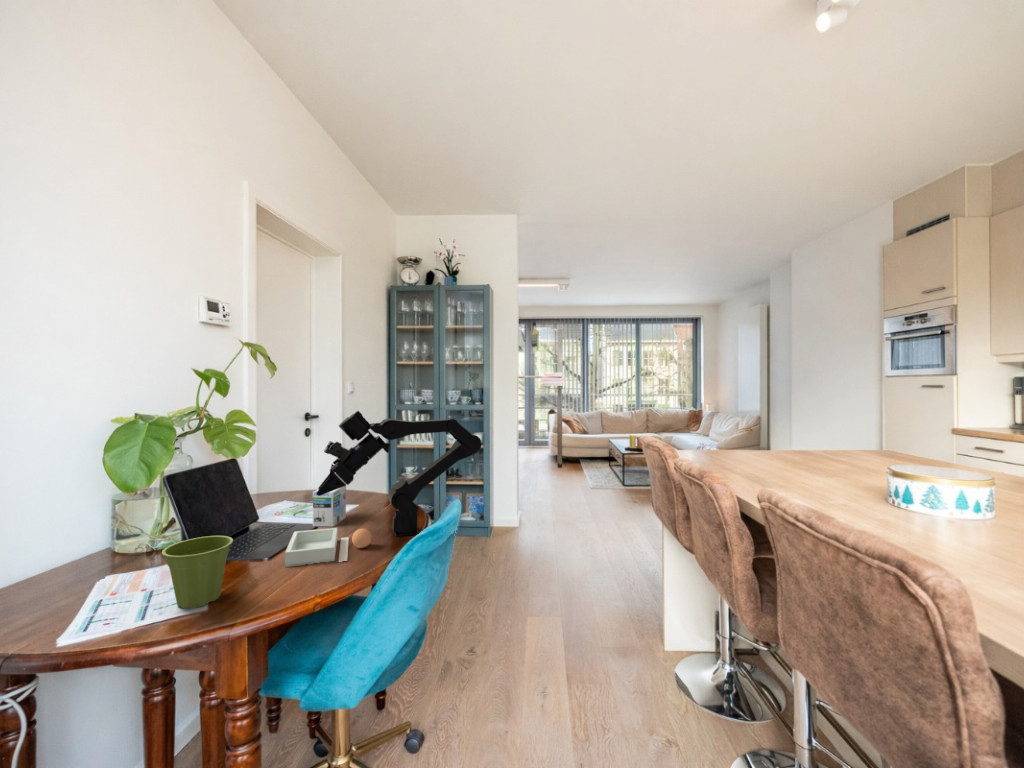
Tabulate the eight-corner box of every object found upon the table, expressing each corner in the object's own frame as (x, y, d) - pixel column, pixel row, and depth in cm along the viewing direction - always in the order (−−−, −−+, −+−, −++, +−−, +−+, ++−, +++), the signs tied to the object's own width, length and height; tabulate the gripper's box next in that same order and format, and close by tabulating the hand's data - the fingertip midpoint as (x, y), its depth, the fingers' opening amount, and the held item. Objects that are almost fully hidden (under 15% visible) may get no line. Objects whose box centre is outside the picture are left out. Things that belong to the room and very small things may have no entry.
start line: (348, 537, 129) (348, 537, 129) (347, 561, 112) (347, 560, 112) (341, 538, 128) (341, 538, 128) (338, 562, 111) (338, 561, 111)
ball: (371, 543, 125) (371, 525, 125) (371, 549, 120) (371, 530, 120) (352, 545, 123) (352, 527, 123) (351, 551, 118) (351, 532, 118)
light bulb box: (333, 527, 139) (333, 492, 139) (311, 527, 139) (311, 491, 139) (346, 517, 149) (346, 484, 149) (326, 516, 149) (326, 484, 149)
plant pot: (225, 582, 100) (225, 531, 100) (239, 601, 91) (239, 545, 91) (157, 600, 92) (157, 544, 92) (166, 622, 83) (166, 561, 83)
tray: (337, 540, 127) (337, 527, 127) (334, 561, 112) (334, 547, 112) (294, 544, 123) (294, 531, 123) (285, 567, 108) (285, 552, 108)
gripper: (343, 430, 136) (300, 467, 132) (343, 432, 119) (293, 475, 114) (369, 457, 138) (327, 494, 134) (372, 463, 121) (324, 506, 116)
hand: (318, 492), depth 124 cm, fingers open, 9 cm apart
